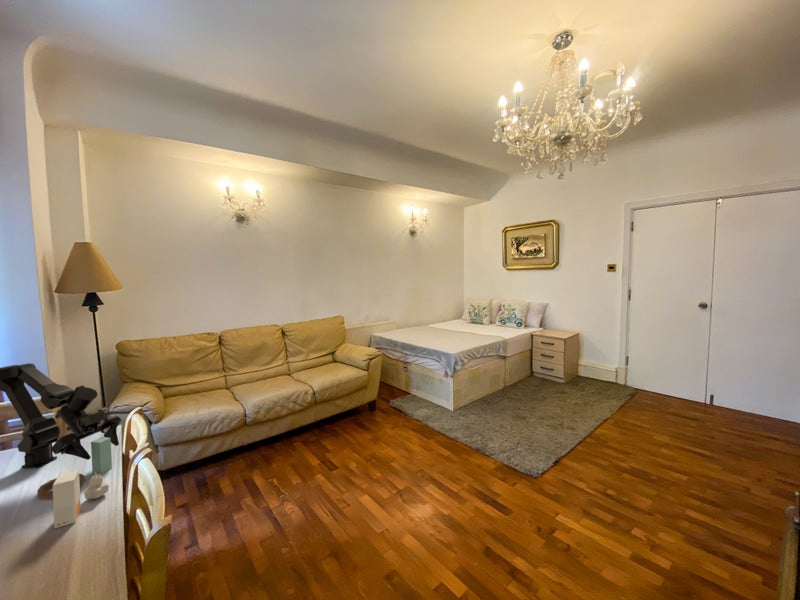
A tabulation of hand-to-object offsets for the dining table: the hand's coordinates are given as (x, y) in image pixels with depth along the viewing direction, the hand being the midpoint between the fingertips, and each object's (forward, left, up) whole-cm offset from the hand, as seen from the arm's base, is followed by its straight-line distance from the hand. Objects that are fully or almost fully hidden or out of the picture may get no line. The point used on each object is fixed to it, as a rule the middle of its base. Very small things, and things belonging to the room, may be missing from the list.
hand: (104, 451), depth 113 cm
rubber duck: (+15, +10, -7) cm, 19 cm away
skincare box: (+24, +10, -7) cm, 27 cm away
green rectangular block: (0, -1, -7) cm, 7 cm away
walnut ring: (+10, -5, -7) cm, 13 cm away
